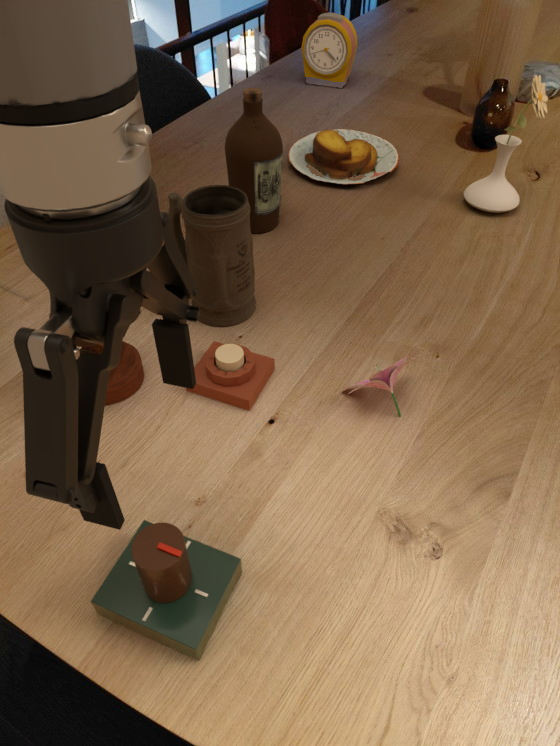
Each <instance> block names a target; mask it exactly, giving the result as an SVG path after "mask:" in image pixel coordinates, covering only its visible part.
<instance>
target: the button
mask: <svg viewBox="0 0 560 746" xmlns="http://www.w3.org/2000/svg"><path fill="white" fill-rule="evenodd" d="M223 344H224V345H222V346H220V347H219V348H217V350H216V352H215V359H216V365H217V367H218V368H219V369H220V370H222V371H225V372H232V371H237V370H239V369H240V368H241V367H242V366H243V364H244V351H243V349H242V348H241V347H240V346H238V345H239V344H237V343H223ZM236 344H237V345H236Z"/></svg>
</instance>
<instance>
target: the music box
mask: <svg viewBox="0 0 560 746" xmlns="http://www.w3.org/2000/svg"><path fill="white" fill-rule="evenodd" d="M50 318H51V314H50V313H49V316H48V320H49V319H50ZM103 346H104V345H100V344H95V343H90V342H86V341H84V340H82V339H80V338H78V337H76V347H77V348H80V349H81V350H86V351H91V352H96V353H101V354H102V352H103ZM144 379H145V370H144V366H143V361H142V357H141V354H140V352H139V350H138V349H137V347H135V346H134V345H132V344H131V343H129V342H126V341H122V348H121V355H120V362H119V365H118V366H117V367H116V368H114V369H112V370H111V371H110V374H109V381H108V388H107V395H106V401H105V407H106V406H112V405H116V404H119V403H123V402H124V401H126V400H128V399H129V398H131V397H132V396H134V395H135V394H136V393H137V392H138V391H139V390H140V388H141V387H142V385H143V383H144V381H145V380H144Z"/></svg>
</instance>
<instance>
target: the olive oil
mask: <svg viewBox="0 0 560 746" xmlns="http://www.w3.org/2000/svg"><path fill="white" fill-rule="evenodd" d="M242 95H243V98H242V108H243V112H242V114H241V116H239V118H237V120H236V121H235V123H233V124H232V125H231V127H230V128H229V130H228V131H227V134H226V137H225V142H224V154H225V163H226V172H227V181H228V186H231V187H236V188H238V189H240V190H242V191H243V192H244V193H245V194H246V195H247V198H248V202H249V205H250V230H251V234H263V233H267V232H270V231H272V230H274V229H275V228H277V226H278V225H279V222H280V206H281V204H282V195H281V187H282V186H281V184H282V182H281V181H282V169H283V168H282V167H283V156H284V155H283V154H284V152H283V151H284V145H283V140H282V137H281V134H280V131H279V130H278V128H277V127H276V126H275V125H274V123H272V121H270V119H269V118H268V117H267V116H266V115H265V114H264V112H263V98H262V96H263V91H262V89H260V88H259V87H258V88H257V87H248V88H245V89H243V92H242Z"/></svg>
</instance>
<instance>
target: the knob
mask: <svg viewBox="0 0 560 746" xmlns="http://www.w3.org/2000/svg"><path fill="white" fill-rule="evenodd" d="M184 536H185V535H184V534H183V532H182V531H181V529H179V527H177V526H176V525H174V524H172V523H169V522H155V523H153V524H151V525H149V526H147V527H145V528H144V529H142V530H141V531H140V532H139V533H138V534H137V536H136V537H135V539H134V541H133V543H132V548H131V553H132V557H133V560H134V563H135V566H136V568H137V571H138V574H139V577H140V579H141V582H142V585H143V587H144V590H145V592H146V594H147V595H148V597H149V598H151V599H152V600H154V601H156V602H159V603H170V602H173V601H176V600H178V599H179V598H181V597H182V596H183V595H184V594H185V593H186V592H187V591H188V589H189V587H190V585H191V582H192V571H191V566H190V562H189V557H188V553H187V548H186V544H185V539H184Z"/></svg>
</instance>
